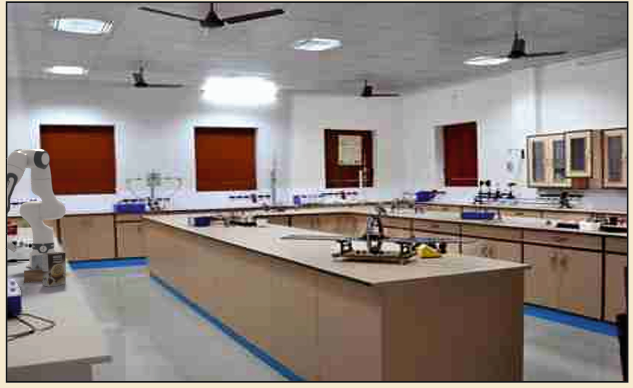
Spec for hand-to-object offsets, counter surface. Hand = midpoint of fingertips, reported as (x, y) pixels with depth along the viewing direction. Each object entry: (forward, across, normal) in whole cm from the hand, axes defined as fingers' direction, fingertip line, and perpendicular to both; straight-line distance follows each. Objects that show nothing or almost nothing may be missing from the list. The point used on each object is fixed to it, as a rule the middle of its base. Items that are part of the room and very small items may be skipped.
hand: (15, 250), depth 324 cm
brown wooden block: (+18, -16, +2) cm, 24 cm away
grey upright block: (+18, 0, +3) cm, 18 cm away
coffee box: (+23, -34, -3) cm, 41 cm away
